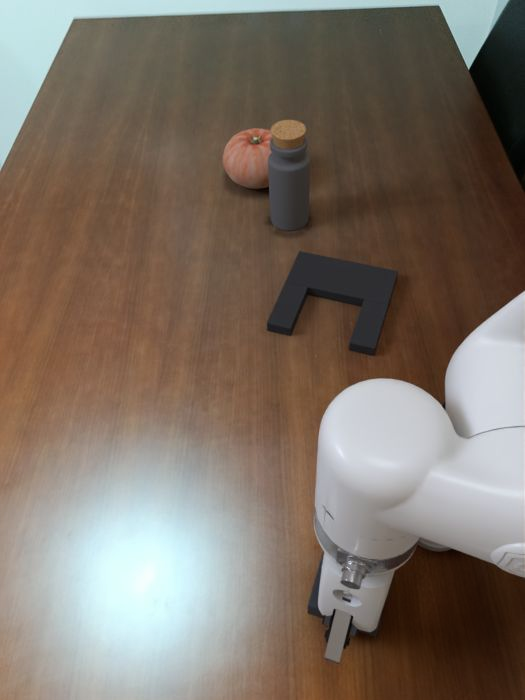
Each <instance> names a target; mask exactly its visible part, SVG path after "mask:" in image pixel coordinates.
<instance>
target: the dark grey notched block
mask: <svg viewBox="0 0 525 700" xmlns="http://www.w3.org/2000/svg"><path fill="white" fill-rule="evenodd" d="M398 274H399V271H398V270H395V269H390V268H384V267H381V266H376V265H370V264H365V263H360V262H355V261H351V260H345V259H341V258H335V257H331V256H326V255H320V254H316V253H311V252H306V251H301V250H300V251H298V253H297V255H296V257H295V260H294V262H293V264H292V265H291V268H290V270H289V273H288V275H287V277H286V280H285V282H284V284H283V286H282V289H281V291H280V293H279V295H278V297H277V299H276V302H275V304H274V306H273V308H272V311H271V313H270V315H269V317H268V319H267V321H266V330H267V331H268V332H272V333H277V334H281V335H285V336H288V337H291V336H292V334H293V332H294V329H295V327H296V324H297V322H298V320H299V317H300V314H301V312H302V310H303V307H304V306H305V302H306V300H307V298H308V295H309V296H312V297H318V298H322V299H327V300H331V301H335V302H341V303H345V304H348V305H354V306H358V307H360V310H359V313H358V315H357V318H356V322H355V325H354V328H353V331H352V334H351V337H350V340H349V343H348V350H349V351H352V352H356V353H361V354H365V355H368V356H373V357H374V356H375V354H376V350H377V347H378V344H379V340H380V337H381V334H382V330H383V326H384V324H385V320H386V316H387V313H388V310H389V306H390V303H391V300H392V297H393V292H394V289H395V286H396V283H397V279H398Z"/></svg>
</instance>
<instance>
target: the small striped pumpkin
mask: <svg viewBox="0 0 525 700" xmlns="http://www.w3.org/2000/svg"><path fill="white" fill-rule="evenodd" d="M271 138H272V134H271V129H266V128H262V127H259V128H258V127H253V128H249V129H245V130H241V131H240V132H238V133H236V134H234V135H233V136H232V137H231V138H230V139H229V141H228V142H227V143H226V145H225V148H224V150H223V154H222V165H223V168H224V170H225V173H226V174H227V176H228V177H229V179H231V180H232V182H234V183H235V184H237V185H239V186H241V187H244V188H247V189H252V190H253V189H254V190H260V189H265V188H269V175H268V158H269V155H270V154H271V153H272V151H271V150H270V140H271Z"/></svg>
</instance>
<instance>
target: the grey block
mask: <svg viewBox="0 0 525 700" xmlns="http://www.w3.org/2000/svg"><path fill="white" fill-rule="evenodd" d="M322 551H323V552H322V554H321V558H320V562H319V564H318V568H317V572H316V575H315V579H314V583H313V585H312V589H311V593H310V596H309V600H308V603H307V613H308V614H309V615H312V616H315V617H318V618H320V619H323V615H322V614H321V612H320V610H319V607H318V596H319V586H320V578H321V571H322V563H323V556H324V550H322ZM384 606H385V605H384ZM384 606H383V609H382V612H381V615H380V618H379V621H378V625H377V628H376V629H375V630H374V631H372V632H366V631H362V630H359V632H360V633H362V634H365V635H367V636H370V637H373V638H376V637H377V634H378V632H379V630H380V626H381V620H382V616H383V611H384ZM359 632H358V633H359Z"/></svg>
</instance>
